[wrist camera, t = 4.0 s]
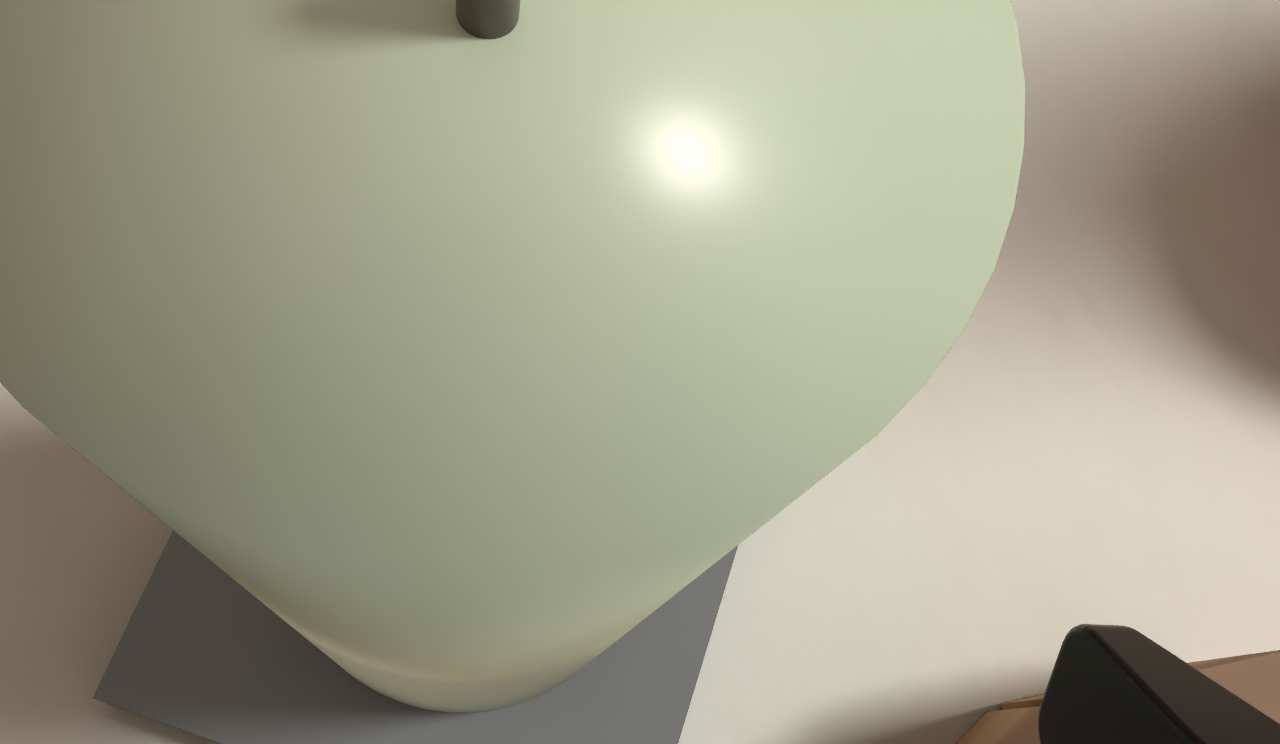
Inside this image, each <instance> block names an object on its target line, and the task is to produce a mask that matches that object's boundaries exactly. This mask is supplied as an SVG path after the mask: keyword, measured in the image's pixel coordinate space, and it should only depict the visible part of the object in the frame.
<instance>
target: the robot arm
mask: <svg viewBox="0 0 1280 744" xmlns="http://www.w3.org/2000/svg"><path fill="white" fill-rule="evenodd" d="M1038 735H1039V741H1040V744H1280V724H1279V723H1278V722H1276V721H1274V720H1273V719H1271V718H1270V717H1268V716H1267V715H1265V714H1264V713H1262V712H1261V711H1259V710H1258V709H1256V708H1255V707H1253V706H1251V705H1250V704H1248V703H1247V702H1245V701H1244V700H1242V699H1241V698H1239V697H1238V696H1236V695H1235V694H1233V693H1232V692H1230V691H1229V690H1227V689H1225V688H1224V687H1222V686H1221V685H1219V684H1218V683H1216V682H1215V681H1213V680H1212V679H1210V678H1209V677H1207V676H1206V675H1204V674H1202V673H1201V672H1199V671H1198V670H1196V669H1195V668H1193V667H1192V666H1190V665H1189V664H1187V663H1186V662H1184V661H1183V660H1181V659H1179V658H1178V657H1176V656H1175V655H1173V654H1172V653H1170V652H1169V651H1167V650H1166V649H1164V648H1163V647H1161V646H1160V645H1158V644H1156V643H1155V642H1153V641H1152V640H1150V639H1149V638H1147V637H1146V636H1144V635H1143V634H1141V633H1140V632H1138V631H1136V630H1135V629H1133V628H1130V627H1126V626H1118V625H1093V624H1081V625H1078V626H1076V627H1074V628H1072V629H1071V630H1070V631H1069V632H1068V634H1067V635H1066V637H1065V639H1064V641H1063V643H1062V646H1061V649H1060V652H1059V654H1058V657H1057V660H1056V663H1055V666H1054V669H1053V671H1052V674H1051V677H1050V680H1049V683H1048V685H1047V688H1046V691H1045V694H1044V697H1043V699H1042V702H1041V705H1040V709H1039V715H1038Z"/></svg>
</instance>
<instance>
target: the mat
mask: <svg viewBox="0 0 1280 744" xmlns="http://www.w3.org/2000/svg"><path fill="white" fill-rule="evenodd" d="M737 547H738V545H737V546H736V547H735V548H733V549H732V550H731V551H730V552H728V553H727V554H726V555H725V556H723V557H722V558H721V559H720V560H718V561H717V562H716V563H715V564H713V565H712V566H711V567H709V568H708V569H707V570H706V571H704V572H703V573H702V574H701V575H699V576H698V577H697V578H696V579H694V580H693V581H692V582H690V583H689V584H688V585H687V586H685V587H684V588H683V589H682V590H680V591H679V592H678V593H677V594H675V595H674V596H673V597H671V598H670V599H669V600H668V601H666V602H665V603H664V604H663V605H661V606H660V607H659V608H658V609H656V610H655V611H654V612H652V613H651V614H650V615H649V616H647V617H646V618H645V619H644V620H642V621H641V622H640V623H639V624H637V625H636V626H635V627H633V628H632V629H631V630H630V631H628V632H627V633H626V634H625V635H623V636H622V637H621V638H620V639H618V640H617V641H616V642H615V643H613V644H612V645H611V646H609V647H608V648H607V649H606V650H604V651H603V652H602V653H601V654H599V655H598V656H597V657H596V658H594V659H593V660H592V661H590V662H589V663H588V664H587V665H585V666H584V667H583V668H582V669H580V670H579V671H578V672H576V673H575V674H574V675H573V676H571V677H570V678H569V679H567V680H566V681H565V682H563V683H561V684H560V685H558V686H556V687H554V688H553V689H551V690H549V691H548V692H546V693H544V694H542V695H539V696H537V697H535V698H532V699H530V700H528V701H525V702H523V703H520V704H516V705H512V706H509V707H505V708H501V709H497V710H490V711H482V712H475V713H448V712H441V711H433V710H426V709H422V708H418V707H414V706H411V705H407V704H404V703H400V702H398V701H396V700H393V699H391V698H389V697H386V696H384V695H382V694H380V693H378V692H376V691H374V690H373V689H371V688H369V687H368V686H366V685H364V684H363V683H361V682H359V681H358V680H356V679H355V678H354V677H353V676H352V675H350V674H349V673H348V672H347V671H345V670H344V669H343V668H342V667H341V666H339V665H338V664H337V663H336V662H334V661H333V660H332V659H331V658H330V657H328V656H327V655H326V654H325V653H323V652H322V651H321V650H320V649H319V648H317V647H316V646H315V645H314V644H312V643H311V642H310V641H309V640H307V639H306V638H305V637H304V636H303V635H301V634H300V633H299V632H298V631H296V630H295V629H294V628H293V627H292V626H290V625H289V624H288V623H287V622H285V621H284V620H283V619H282V618H281V617H279V616H278V615H277V614H276V613H274V612H273V611H272V610H271V609H269V608H268V607H267V606H266V605H265V604H263V603H262V602H261V601H260V600H258V599H257V598H256V597H255V596H254V595H252V594H251V593H250V592H249V591H247V590H246V589H245V588H244V587H243V586H241V585H240V584H239V583H238V582H236V581H235V580H234V579H233V578H231V577H230V576H229V575H228V574H227V573H225V572H224V571H223V570H222V569H220V568H219V567H218V566H217V565H216V564H214V563H213V562H212V561H211V560H209V559H208V558H207V557H206V556H205V555H203V554H202V553H201V552H200V551H198V550H197V549H196V548H195V547H193V546H192V545H191V544H190V543H189V542H187V541H186V540H185V539H184V538H182V537H181V536H180V535H179V534H178V533H176V532H175V531H173V533H172V535H171V537H170V539H169V541H168V543H167V545H166V547H165V549H164V551H163V554H162V556H161V558H160V560H159V562H158V564H157V566H156V568H155V570H154V572H153V574H152V576H151V578H150V581H149V583H148V585H147V587H146V589H145V591H144V593H143V595H142V597H141V599H140V601H139V603H138V605H137V608H136V610H135V612H134V614H133V616H132V618H131V620H130V622H129V624H128V626H127V628H126V630H125V632H124V635H123V637H122V639H121V641H120V643H119V645H118V647H117V649H116V651H115V653H114V655H113V657H112V660H111V662H110V664H109V666H108V668H107V670H106V672H105V674H104V676H103V678H102V680H101V682H100V684H99V687H98V689H97V691H96V693H95V695H94V697H93V699H96V700H99V701H102V702H104V703H107V704H110V705H113V706H116V707H119V708H121V709H124V710H127V711H130V712H133V713H136V714H139V715H141V716H144V717H147V718H150V719H153V720H156V721H159V722H161V723H164V724H167V725H170V726H173V727H176V728H178V729H181V730H184V731H187V732H190V733H193V734H196V735H198V736H201V737H204V738H207V739H210V740H213V741H216V742H218V743H221V744H678V741H679V738H680V735H681V732H682V728H683V725H684V722H685V718H686V715H687V712H688V708H689V705H690V702H691V699H692V695H693V692H694V689H695V685H696V682H697V679H698V675H699V672H700V669H701V666H702V662H703V659H704V656H705V652H706V649H707V646H708V642H709V639H710V636H711V633H712V629H713V626H714V623H715V619H716V616H717V613H718V609H719V606H720V603H721V600H722V596H723V593H724V590H725V586H726V583H727V580H728V576H729V573H730V570H731V567H732V563H733V560H734V557H735V553H736V550H737Z"/></svg>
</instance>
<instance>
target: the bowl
mask: <svg viewBox="0 0 1280 744" xmlns="http://www.w3.org/2000/svg"><path fill="white" fill-rule="evenodd" d="M1187 664H1189V665H1190V666H1192V667H1193V668H1195V669H1196V670H1198V671H1199V672H1201V673H1202V674H1204V675H1206V676H1207V677H1209V678H1210V679H1212V680H1213V681H1215V682H1216V683H1218V684H1219V685H1221V686H1222V687H1224V688H1225V689H1227V690H1229V691H1230V692H1232V693H1233V694H1235V695H1236V696H1238V697H1239V698H1241V699H1242V700H1244V701H1245V702H1247V703H1248V704H1250V705H1251V706H1253V707H1255V708H1256V709H1258V710H1259V711H1261V712H1262V713H1264V714H1265V715H1267V716H1268V717H1270V718H1271V719H1273V720H1274V721H1276V722H1278V723H1279V724H1280V650H1278V651H1271V652H1263V653H1256V654H1249V655H1242V656H1235V657H1227V658H1220V659H1213V660H1206V661H1199V662H1191V663H1187ZM1043 697H1044V694H1042V695H1038V696H1033V697H1028V698H1024V699H1019V700H1015V701H1010V702H1006V703H1001V707H1002V710H998V711H988V712H986V713H985V714H984V715H983V716H982V717H981V718H980V719H979V720H978V721H977V722H976V723H975V724H974V726H973V727H972V728H971V729H970V730H969V731H968V732H967V733H966V734H965V735H964V736H963V737H962V738H961V739H960V740H959V741H958V742H957V744H1040V741H1039V735H1038V715H1039V709H1040V705H1041V702H1042V699H1043Z"/></svg>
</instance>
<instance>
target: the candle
mask: <svg viewBox="0 0 1280 744" xmlns="http://www.w3.org/2000/svg"><path fill="white" fill-rule="evenodd" d="M1024 137H1025V79H1024V71H1023V63H1022V55H1021V47H1020V39H1019V31H1018V25H1017V21H1016V17H1015V14H1014V10H1013V6H1012V2H1011V0H0V382H1V383H2V385H3V386H4V387H5V388H6V389H7V390H8V391H9V392H10V393H11V394H12V396H13V397H14V398H15V399H16V400H17V401H18V402H19V403H20V404H21V405H22V407H23V408H25V409H26V410H27V411H28V412H30V413H31V414H32V415H33V416H34V417H36V418H37V419H38V420H39V421H41V422H42V423H43V424H44V425H45V426H47V427H48V428H49V429H50V430H52V431H53V432H54V433H55V434H56V435H58V436H59V437H60V438H61V439H62V440H64V441H65V442H66V443H67V444H69V445H70V446H71V447H72V448H73V449H75V450H76V451H77V452H78V453H80V454H81V455H82V456H83V457H84V458H86V459H87V460H88V461H89V462H91V463H92V464H93V465H94V466H95V467H97V468H98V469H99V470H100V471H102V472H103V473H104V474H105V475H106V476H108V477H109V478H110V479H111V480H113V481H114V482H115V483H116V484H118V485H119V486H120V487H121V488H122V489H124V490H125V491H126V492H127V493H129V494H130V495H131V496H132V497H133V498H135V499H136V500H137V501H138V502H140V503H141V504H142V505H143V506H144V507H146V508H147V509H148V510H149V511H151V512H152V513H153V514H154V515H155V516H157V517H158V518H159V519H160V520H162V521H163V522H164V523H165V524H167V525H168V526H169V527H170V528H171V529H173V530H174V531H175V532H176V533H178V534H179V535H180V536H181V537H182V538H184V539H185V540H186V541H187V542H189V543H190V544H191V545H192V546H193V547H195V548H196V549H197V550H198V551H200V552H201V553H202V554H203V555H205V556H206V557H207V558H208V559H209V560H211V561H212V562H213V563H214V564H216V565H217V566H218V567H219V568H220V569H222V570H223V571H224V572H225V573H227V574H228V575H229V576H230V577H231V578H233V579H234V580H235V581H236V582H238V583H239V584H240V585H241V586H243V587H244V588H245V589H246V590H247V591H249V592H250V593H251V594H252V595H254V596H255V597H256V598H257V599H258V600H260V601H261V602H262V603H263V604H265V605H266V606H267V607H268V608H269V609H271V610H272V611H273V612H274V613H276V614H277V615H278V616H279V617H281V618H282V619H283V620H284V621H285V622H287V623H288V624H289V625H290V626H292V627H293V628H294V629H295V630H296V631H298V632H299V633H300V634H301V635H303V636H304V637H305V638H306V639H307V640H309V641H310V642H311V643H312V644H314V645H315V646H316V647H317V648H319V649H320V650H321V651H322V652H323V653H325V654H326V655H327V656H328V657H330V658H331V659H332V660H333V661H334V662H336V663H337V664H338V665H339V666H341V667H342V668H343V669H344V670H345V671H347V672H348V673H349V674H350V675H352V676H353V677H354V678H355V679H356V680H358V681H359V682H361V683H363V684H364V685H366V686H368V687H369V688H371V689H373V690H374V691H376V692H378V693H380V694H382V695H384V696H386V697H389V698H391V699H393V700H396V701H398V702H400V703H404V704H407V705H411V706H414V707H418V708H422V709H426V710H433V711H441V712H448V713H475V712H482V711H490V710H497V709H501V708H505V707H509V706H512V705H516V704H520V703H523V702H525V701H528V700H530V699H532V698H535V697H537V696H539V695H542V694H544V693H546V692H548V691H549V690H551V689H553V688H554V687H556V686H558V685H560V684H561V683H563V682H565V681H566V680H567V679H569V678H570V677H571V676H573V675H574V674H575V673H576V672H578V671H579V670H580V669H582V668H583V667H584V666H585V665H587V664H588V663H589V662H590V661H592V660H593V659H594V658H596V657H597V656H598V655H599V654H601V653H602V652H603V651H604V650H606V649H607V648H608V647H609V646H611V645H612V644H613V643H615V642H616V641H617V640H618V639H620V638H621V637H622V636H623V635H625V634H626V633H627V632H628V631H630V630H631V629H632V628H633V627H635V626H636V625H637V624H639V623H640V622H641V621H642V620H644V619H645V618H646V617H647V616H649V615H650V614H651V613H652V612H654V611H655V610H656V609H658V608H659V607H660V606H661V605H663V604H664V603H665V602H666V601H668V600H669V599H670V598H671V597H673V596H674V595H675V594H677V593H678V592H679V591H680V590H682V589H683V588H684V587H685V586H687V585H688V584H689V583H690V582H692V581H693V580H694V579H696V578H697V577H698V576H699V575H701V574H702V573H703V572H704V571H706V570H707V569H708V568H709V567H711V566H712V565H713V564H715V563H716V562H717V561H718V560H720V559H721V558H722V557H723V556H725V555H726V554H727V553H728V552H730V551H731V550H732V549H733V548H735V547H736V546H737V545H739V544H740V543H741V542H742V541H744V540H745V539H746V538H747V537H749V536H750V535H751V534H752V533H754V532H755V531H756V530H758V529H759V528H760V527H761V526H763V525H764V524H765V523H766V522H768V521H769V520H770V519H771V518H773V517H774V516H775V515H777V514H778V513H779V512H780V511H782V510H783V509H784V508H785V507H787V506H788V505H789V504H790V503H792V502H793V501H794V500H796V499H797V498H798V497H799V496H801V495H802V494H803V493H804V492H806V491H807V490H808V489H809V488H811V487H812V486H813V485H814V484H816V483H817V482H818V481H820V480H821V479H822V478H823V477H825V476H826V475H827V474H828V473H830V472H831V471H832V470H833V469H835V468H836V467H837V466H839V465H840V464H841V463H842V462H844V461H845V460H846V459H847V458H849V457H850V456H851V455H852V454H854V453H855V452H856V451H858V450H859V449H860V448H861V447H863V446H864V445H865V444H866V443H868V442H869V441H870V440H871V439H873V438H874V437H875V436H877V434H878V433H879V432H880V431H881V430H882V429H883V428H884V427H885V426H886V425H887V424H888V423H889V422H890V421H891V420H892V419H893V418H894V417H895V416H896V415H897V414H898V412H899V411H900V410H901V409H902V408H903V407H904V406H905V405H906V404H907V403H908V402H909V401H910V400H911V399H912V398H913V397H914V396H915V395H916V394H917V393H918V392H919V390H920V389H921V388H922V387H923V386H924V385H925V384H926V383H927V381H928V380H929V379H930V377H931V376H932V374H933V373H934V372H935V370H936V369H937V367H938V366H939V364H940V363H941V362H942V360H943V359H944V357H945V356H946V354H947V353H948V352H949V350H950V349H951V347H952V346H953V345H954V343H955V342H956V340H957V339H958V337H959V336H960V335H961V333H962V332H963V330H964V329H965V327H966V325H967V323H968V321H969V319H970V317H971V315H972V313H973V311H974V309H975V307H976V305H977V303H978V301H979V299H980V297H981V295H982V293H983V291H984V289H985V287H986V285H987V283H988V281H989V279H990V277H991V275H992V273H993V271H994V269H995V266H996V263H997V260H998V257H999V254H1000V251H1001V248H1002V245H1003V242H1004V238H1005V235H1006V232H1007V229H1008V226H1009V223H1010V220H1011V217H1012V214H1013V211H1014V207H1015V201H1016V195H1017V188H1018V182H1019V176H1020V170H1021V164H1022V158H1023V152H1024Z"/></svg>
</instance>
